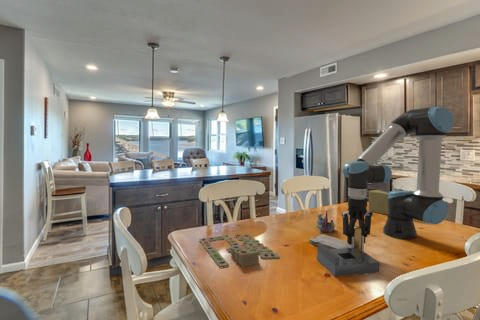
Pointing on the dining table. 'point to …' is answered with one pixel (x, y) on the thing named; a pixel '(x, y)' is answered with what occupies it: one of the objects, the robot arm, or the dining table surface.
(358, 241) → the tan cylinder
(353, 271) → the jig
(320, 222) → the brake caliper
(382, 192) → the cheese
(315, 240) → the washcloth
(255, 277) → the dining table surface
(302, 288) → the dining table surface
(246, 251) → the pile of dominoes
